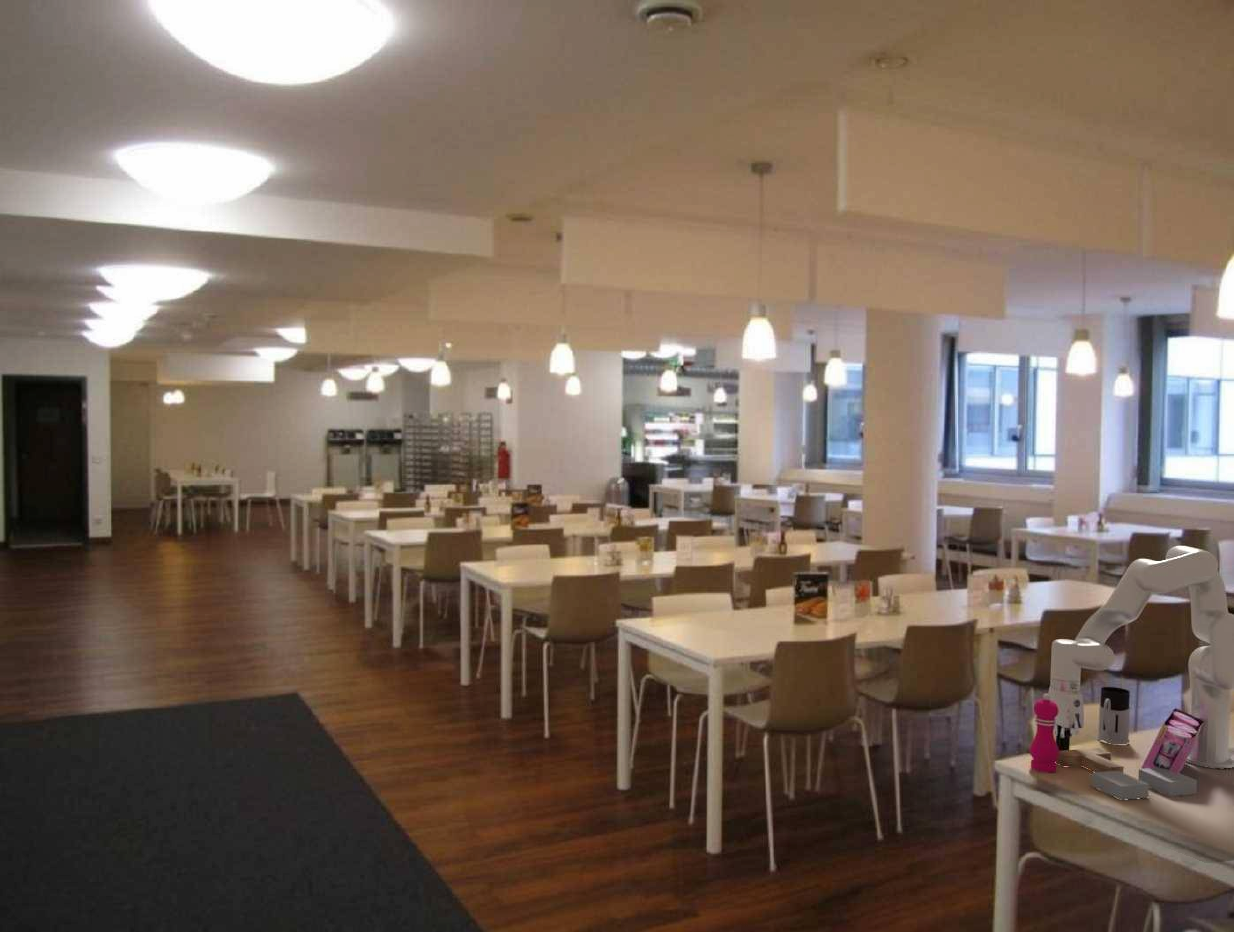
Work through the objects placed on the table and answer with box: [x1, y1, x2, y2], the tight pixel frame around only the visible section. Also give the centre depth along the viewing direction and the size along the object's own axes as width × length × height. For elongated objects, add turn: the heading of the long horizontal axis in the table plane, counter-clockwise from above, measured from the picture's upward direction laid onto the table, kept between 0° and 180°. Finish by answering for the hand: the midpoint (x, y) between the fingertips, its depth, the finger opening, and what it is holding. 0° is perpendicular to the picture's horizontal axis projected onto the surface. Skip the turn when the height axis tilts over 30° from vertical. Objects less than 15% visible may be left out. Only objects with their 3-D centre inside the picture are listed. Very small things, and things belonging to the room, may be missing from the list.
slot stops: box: [1090, 768, 1198, 801], centre depth 246 cm, size 22×10×4 cm, turn 106°
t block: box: [1055, 747, 1124, 773], centre depth 261 cm, size 15×14×3 cm
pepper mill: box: [1029, 693, 1059, 773], centre depth 260 cm, size 7×7×20 cm
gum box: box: [1140, 707, 1205, 774], centre depth 260 cm, size 24×8×14 cm, turn 143°
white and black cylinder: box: [1096, 686, 1131, 744], centre depth 285 cm, size 9×14×15 cm, turn 138°
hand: (1062, 750), depth 273 cm, fingers closed
